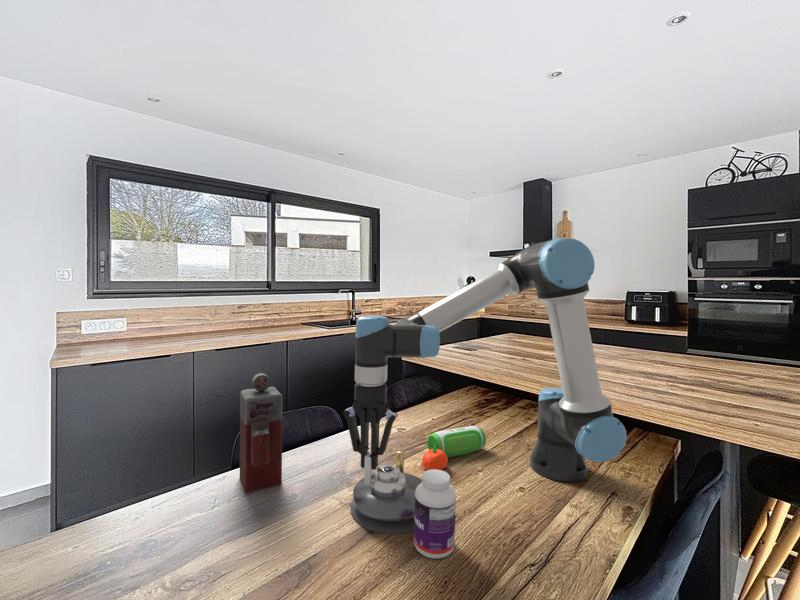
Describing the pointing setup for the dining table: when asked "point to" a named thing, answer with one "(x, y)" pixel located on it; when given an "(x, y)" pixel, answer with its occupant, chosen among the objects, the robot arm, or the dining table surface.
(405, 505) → the turntable
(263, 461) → the vintage gas pump
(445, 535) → the pill bottle
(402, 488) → the cover
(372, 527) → the turntable base
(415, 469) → the dining table surface
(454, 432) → the speaker
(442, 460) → the pumpkin
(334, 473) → the dining table surface
